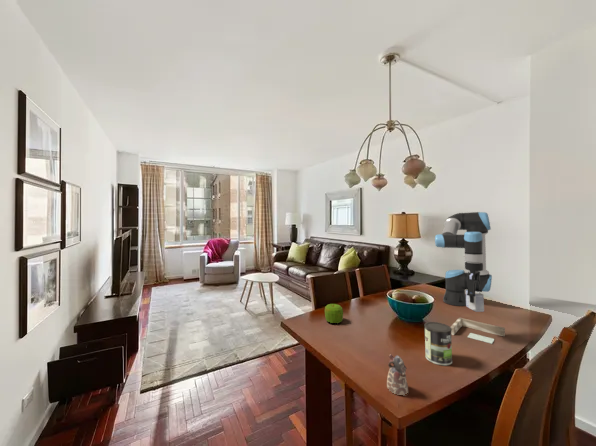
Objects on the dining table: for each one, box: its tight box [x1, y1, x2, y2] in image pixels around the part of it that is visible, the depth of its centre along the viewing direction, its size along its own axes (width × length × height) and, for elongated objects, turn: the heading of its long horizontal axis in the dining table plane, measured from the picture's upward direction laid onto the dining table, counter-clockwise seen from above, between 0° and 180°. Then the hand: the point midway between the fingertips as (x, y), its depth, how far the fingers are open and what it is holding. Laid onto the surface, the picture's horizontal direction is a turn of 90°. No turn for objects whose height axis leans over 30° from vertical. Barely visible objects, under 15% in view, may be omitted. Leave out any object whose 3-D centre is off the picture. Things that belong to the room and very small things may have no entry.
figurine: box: [386, 353, 409, 396], centre depth 89 cm, size 7×7×12 cm
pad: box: [467, 332, 495, 345], centre depth 124 cm, size 6×10×1 cm, turn 43°
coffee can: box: [424, 321, 453, 366], centre depth 107 cm, size 10×10×14 cm
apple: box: [324, 303, 344, 324], centre depth 150 cm, size 11×11×11 cm
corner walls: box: [450, 317, 506, 337], centre depth 128 cm, size 17×20×4 cm
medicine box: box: [465, 289, 485, 313], centre depth 126 cm, size 8×4×9 cm, turn 174°
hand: (474, 306), depth 126 cm, fingers closed on medicine box, 9 cm apart
